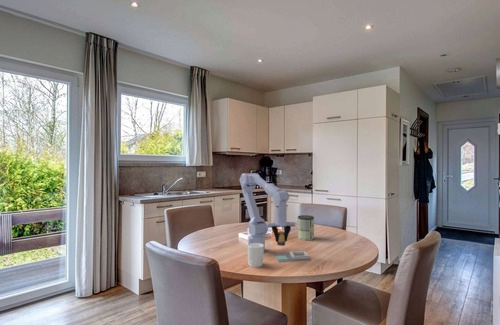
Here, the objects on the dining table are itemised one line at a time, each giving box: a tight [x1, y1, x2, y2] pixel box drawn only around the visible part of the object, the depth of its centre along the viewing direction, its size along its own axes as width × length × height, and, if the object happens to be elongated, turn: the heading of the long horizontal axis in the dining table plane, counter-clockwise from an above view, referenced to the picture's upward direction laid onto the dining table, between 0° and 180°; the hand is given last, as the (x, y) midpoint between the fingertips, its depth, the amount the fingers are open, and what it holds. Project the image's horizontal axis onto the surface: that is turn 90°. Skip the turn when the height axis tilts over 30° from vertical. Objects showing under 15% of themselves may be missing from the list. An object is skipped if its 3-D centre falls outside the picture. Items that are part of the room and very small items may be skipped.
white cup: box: [246, 243, 265, 268], centre depth 137 cm, size 8×8×10 cm
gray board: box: [273, 250, 312, 263], centre depth 147 cm, size 16×14×2 cm
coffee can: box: [297, 214, 315, 241], centre depth 187 cm, size 10×10×14 cm
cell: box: [276, 230, 286, 247], centre depth 147 cm, size 4×4×7 cm
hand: (281, 241), depth 147 cm, fingers closed on cell, 4 cm apart
